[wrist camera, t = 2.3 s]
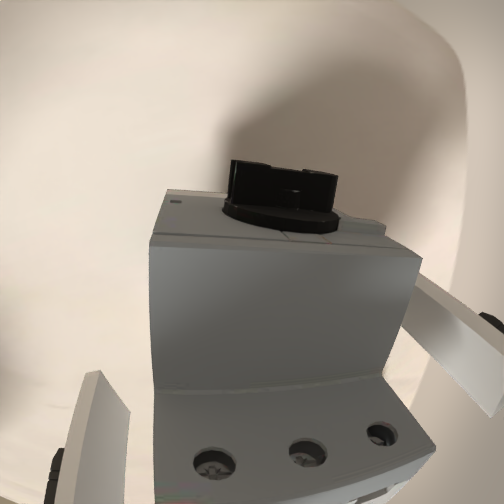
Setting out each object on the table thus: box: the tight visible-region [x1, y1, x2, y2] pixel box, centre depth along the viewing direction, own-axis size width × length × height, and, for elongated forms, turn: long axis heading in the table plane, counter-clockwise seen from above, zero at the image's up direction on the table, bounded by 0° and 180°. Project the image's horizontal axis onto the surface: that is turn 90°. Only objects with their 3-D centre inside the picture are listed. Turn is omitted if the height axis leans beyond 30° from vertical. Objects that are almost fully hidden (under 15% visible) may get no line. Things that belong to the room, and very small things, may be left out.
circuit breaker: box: [149, 160, 436, 504], centre depth 12 cm, size 8×14×15 cm, turn 173°
